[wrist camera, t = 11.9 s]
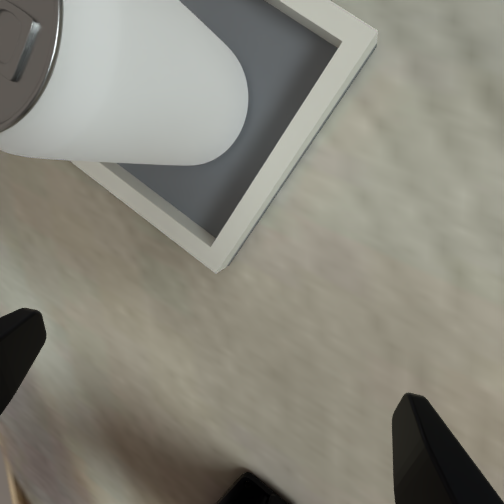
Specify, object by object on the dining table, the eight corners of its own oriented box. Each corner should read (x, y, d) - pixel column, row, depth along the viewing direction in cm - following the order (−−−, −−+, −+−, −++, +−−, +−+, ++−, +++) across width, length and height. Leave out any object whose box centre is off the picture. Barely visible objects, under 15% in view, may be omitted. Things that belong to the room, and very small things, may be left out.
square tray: (229, 264, 21) (216, 273, 19) (61, 137, 23) (34, 133, 21) (376, 46, 17) (377, 30, 15) (158, -93, 18) (135, -123, 17)
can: (175, 8, 19) (-110, -242, 7) (276, 81, 18) (129, -74, 7) (119, 121, 21) (-170, 59, 10) (207, 190, 20) (8, 211, 9)
